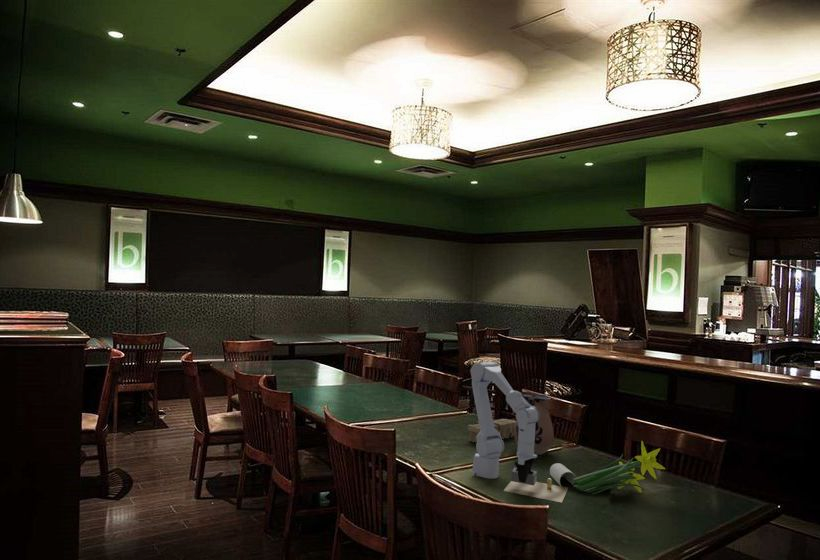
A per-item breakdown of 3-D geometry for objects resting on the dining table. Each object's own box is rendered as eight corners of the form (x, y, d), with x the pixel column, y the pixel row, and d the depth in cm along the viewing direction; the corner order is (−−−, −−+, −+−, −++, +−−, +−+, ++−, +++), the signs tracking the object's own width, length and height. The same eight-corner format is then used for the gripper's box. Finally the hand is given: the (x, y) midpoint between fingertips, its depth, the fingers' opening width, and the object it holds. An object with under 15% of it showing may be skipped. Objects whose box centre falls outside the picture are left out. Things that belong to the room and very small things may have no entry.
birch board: (503, 494, 194) (503, 490, 195) (513, 481, 209) (513, 477, 209) (561, 507, 186) (561, 502, 186) (568, 492, 201) (568, 487, 201)
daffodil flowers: (561, 486, 209) (639, 459, 218) (583, 520, 198) (665, 490, 206) (567, 457, 200) (648, 430, 208) (590, 491, 188) (675, 461, 197)
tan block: (504, 434, 281) (466, 441, 261) (505, 418, 281) (467, 423, 261) (517, 438, 275) (479, 445, 255) (518, 421, 275) (480, 427, 256)
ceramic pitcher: (508, 453, 246) (511, 396, 246) (521, 442, 264) (524, 390, 265) (547, 460, 237) (550, 402, 238) (558, 449, 256) (561, 395, 256)
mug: (545, 474, 214) (555, 484, 202) (554, 459, 215) (565, 468, 203) (567, 487, 214) (578, 498, 202) (576, 472, 215) (588, 482, 203)
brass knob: (546, 489, 199) (546, 478, 199) (547, 487, 200) (547, 477, 200) (551, 490, 198) (551, 479, 198) (552, 488, 199) (552, 478, 199)
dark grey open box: (511, 481, 196) (511, 471, 196) (514, 476, 201) (514, 467, 201) (533, 485, 193) (534, 475, 193) (536, 481, 197) (537, 471, 197)
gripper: (533, 448, 189) (531, 488, 189) (541, 438, 202) (539, 475, 202) (513, 444, 191) (510, 483, 191) (522, 435, 205) (519, 471, 205)
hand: (523, 479), depth 197 cm, fingers closed on dark grey open box, 5 cm apart
